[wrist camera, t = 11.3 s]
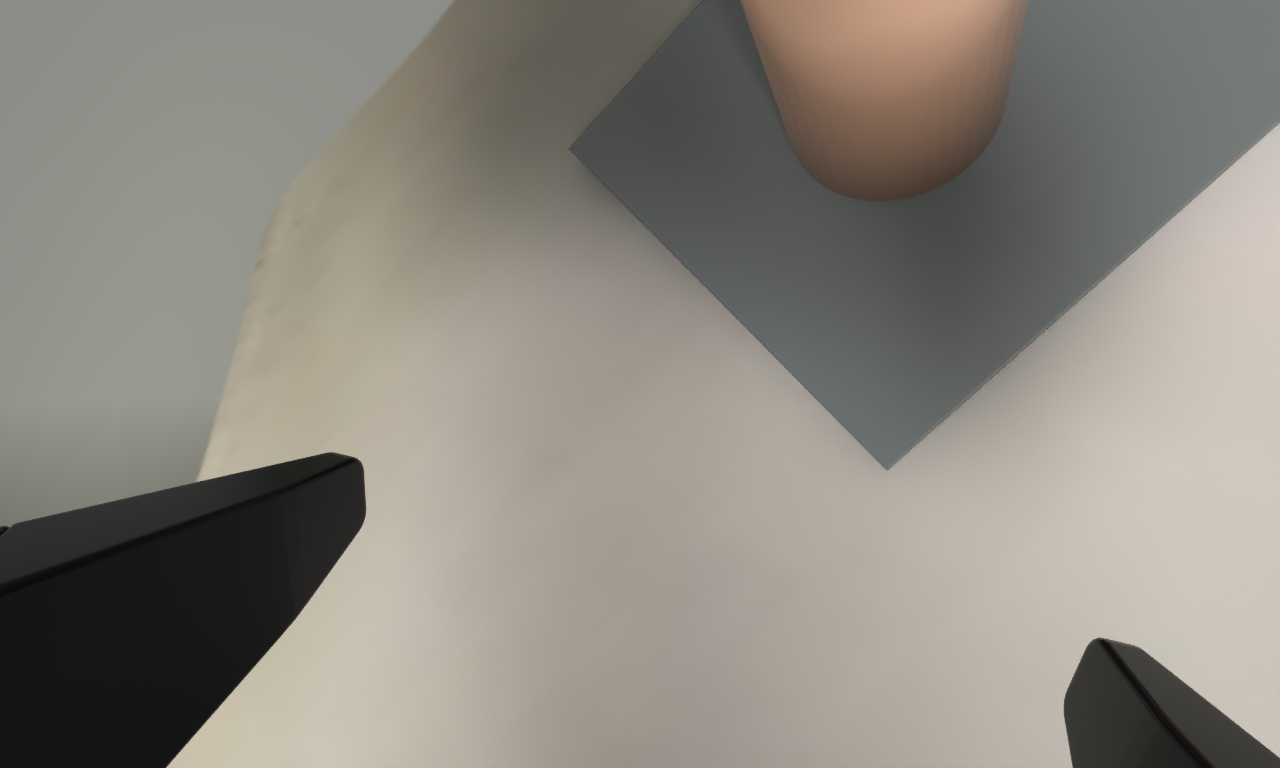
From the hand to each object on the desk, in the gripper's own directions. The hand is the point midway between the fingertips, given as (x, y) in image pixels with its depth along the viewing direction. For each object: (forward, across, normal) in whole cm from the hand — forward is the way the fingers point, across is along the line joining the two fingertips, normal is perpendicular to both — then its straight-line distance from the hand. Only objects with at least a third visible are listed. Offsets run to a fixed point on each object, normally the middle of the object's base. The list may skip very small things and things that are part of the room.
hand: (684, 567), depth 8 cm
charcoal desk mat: (+15, -2, -5) cm, 16 cm away
